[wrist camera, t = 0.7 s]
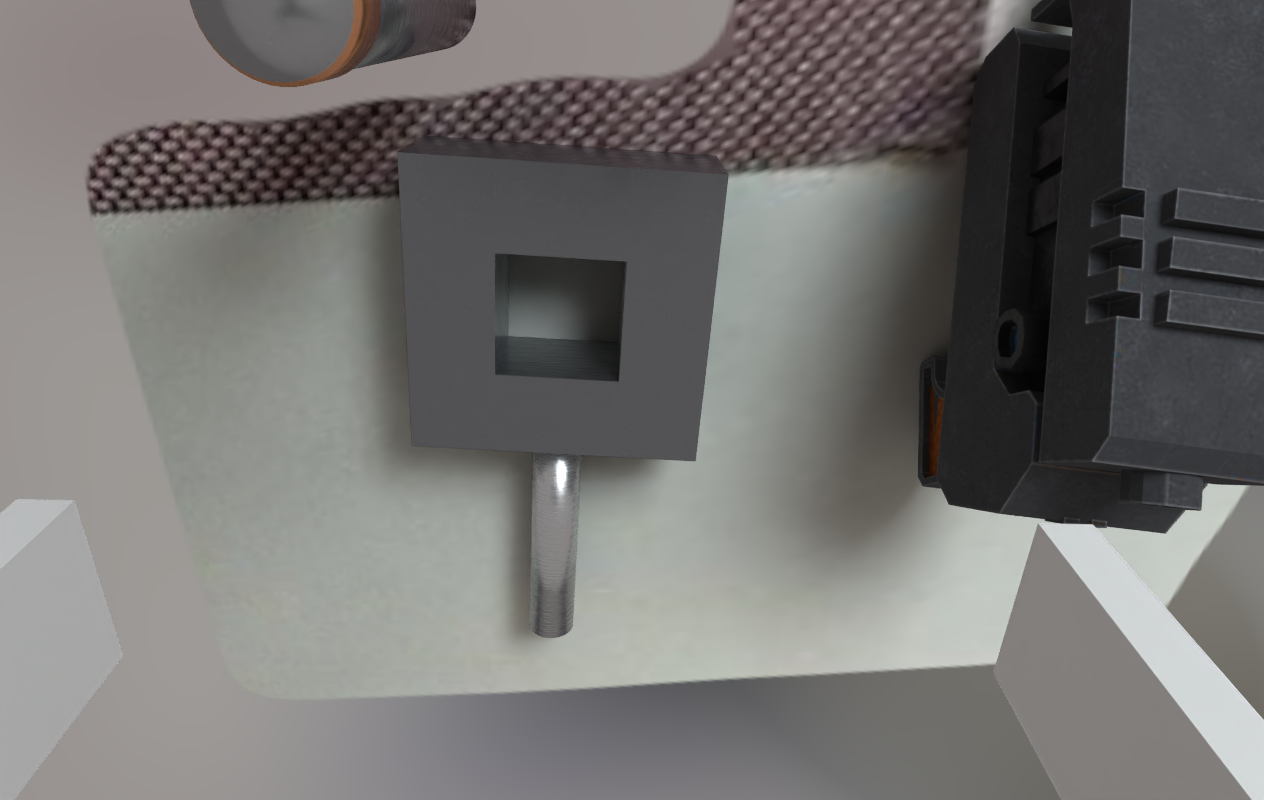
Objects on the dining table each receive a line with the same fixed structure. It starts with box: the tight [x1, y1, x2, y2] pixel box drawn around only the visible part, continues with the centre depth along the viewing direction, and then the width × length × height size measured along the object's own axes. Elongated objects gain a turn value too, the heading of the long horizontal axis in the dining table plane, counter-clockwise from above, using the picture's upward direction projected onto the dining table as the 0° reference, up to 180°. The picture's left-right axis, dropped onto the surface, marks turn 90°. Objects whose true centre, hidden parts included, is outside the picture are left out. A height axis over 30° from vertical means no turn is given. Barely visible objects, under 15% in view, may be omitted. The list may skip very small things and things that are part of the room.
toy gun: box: [918, 0, 1264, 534], centre depth 28 cm, size 6×19×15 cm
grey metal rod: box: [190, 0, 476, 87], centre depth 22 cm, size 3×3×15 cm
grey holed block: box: [397, 136, 728, 638], centre depth 34 cm, size 21×11×4 cm, turn 176°
